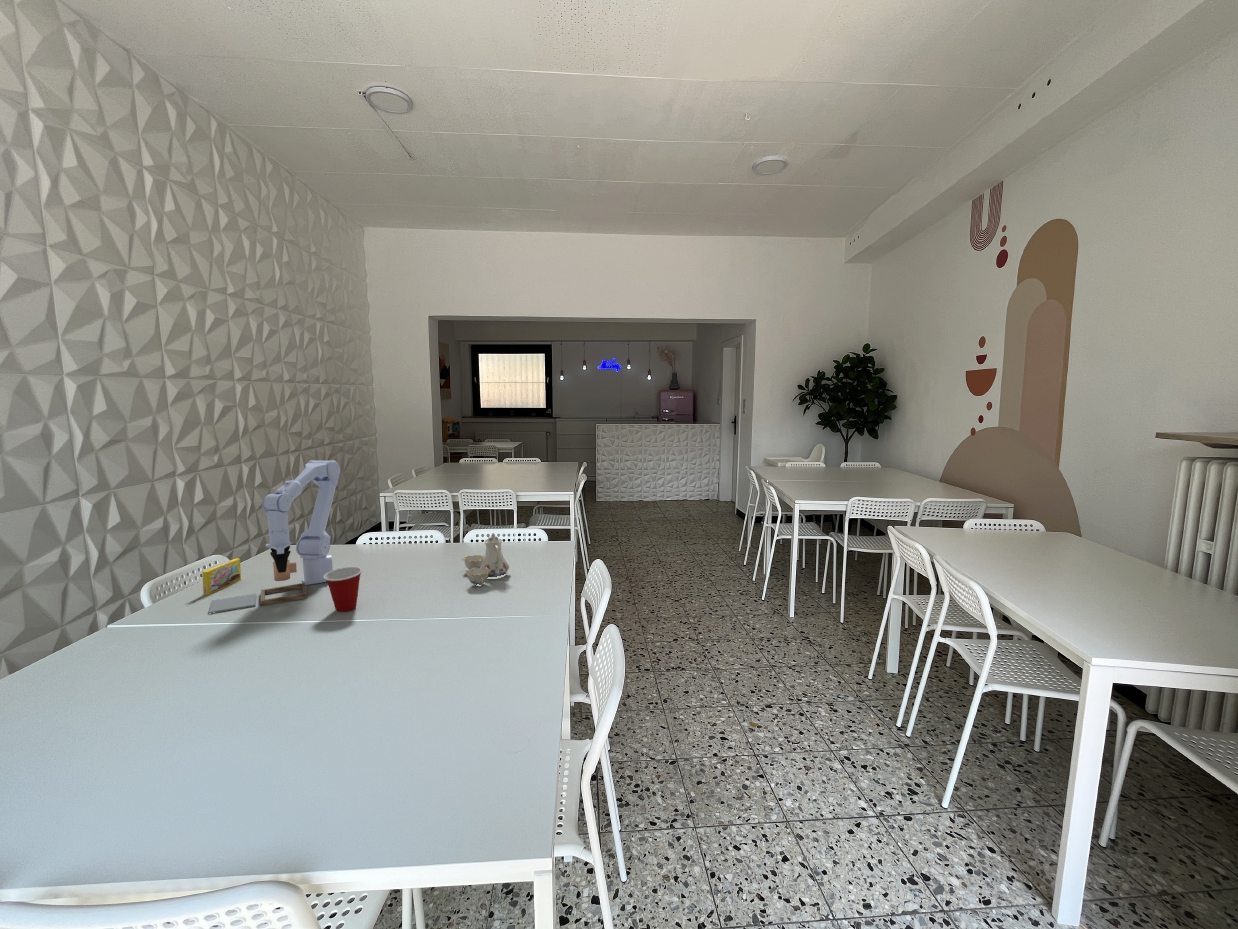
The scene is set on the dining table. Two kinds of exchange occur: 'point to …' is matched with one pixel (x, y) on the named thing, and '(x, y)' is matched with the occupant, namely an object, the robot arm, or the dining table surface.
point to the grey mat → (233, 603)
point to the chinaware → (486, 562)
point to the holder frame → (285, 598)
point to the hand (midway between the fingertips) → (282, 570)
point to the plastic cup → (344, 587)
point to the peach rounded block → (284, 575)
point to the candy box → (221, 576)
